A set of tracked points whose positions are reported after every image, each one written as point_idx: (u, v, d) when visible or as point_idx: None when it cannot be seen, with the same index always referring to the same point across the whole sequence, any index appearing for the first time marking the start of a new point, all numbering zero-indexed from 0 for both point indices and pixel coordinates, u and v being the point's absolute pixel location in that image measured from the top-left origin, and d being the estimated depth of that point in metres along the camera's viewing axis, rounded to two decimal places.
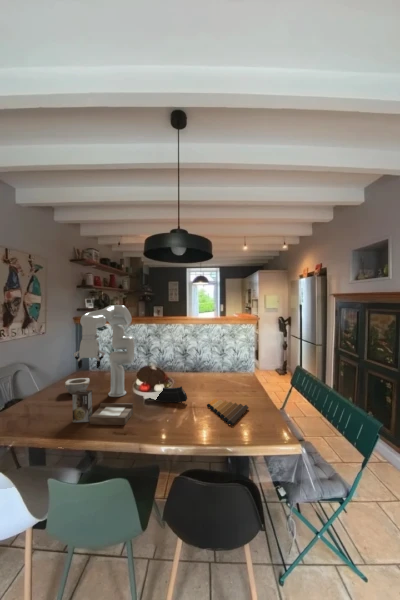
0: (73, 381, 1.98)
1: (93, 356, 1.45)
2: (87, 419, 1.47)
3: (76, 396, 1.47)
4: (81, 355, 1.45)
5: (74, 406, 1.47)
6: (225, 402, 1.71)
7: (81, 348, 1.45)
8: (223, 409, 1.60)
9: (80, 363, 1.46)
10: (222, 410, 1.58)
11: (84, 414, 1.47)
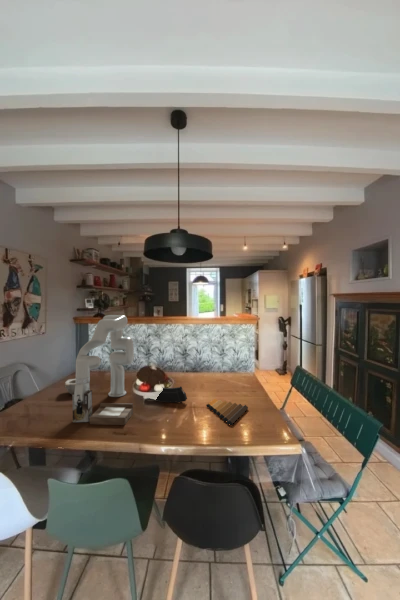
0: (73, 381, 1.98)
1: None
2: (87, 419, 1.47)
3: None
4: (83, 399, 1.47)
5: (74, 406, 1.47)
6: (225, 402, 1.71)
7: (83, 392, 1.47)
8: (223, 409, 1.60)
9: (81, 408, 1.47)
10: (222, 410, 1.58)
11: (84, 414, 1.47)
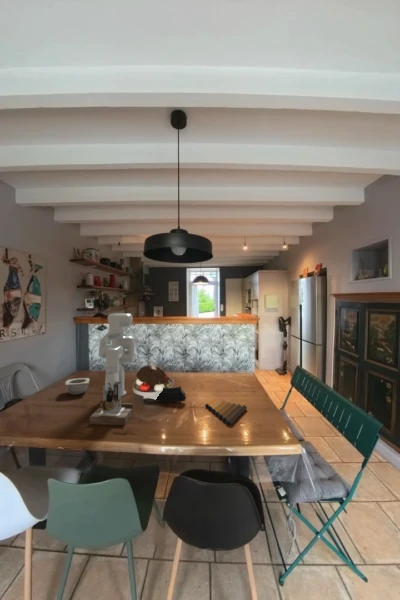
0: (73, 381, 1.98)
1: None
2: (117, 410, 1.49)
3: None
4: (113, 387, 1.49)
5: (105, 397, 1.49)
6: (223, 402, 1.70)
7: (113, 380, 1.49)
8: (221, 409, 1.59)
9: (111, 396, 1.48)
10: (220, 410, 1.58)
11: (114, 404, 1.49)
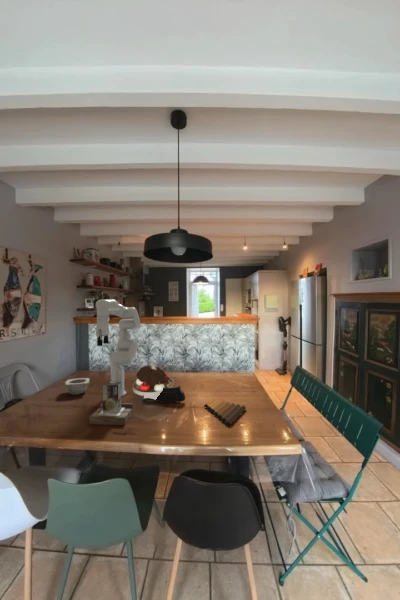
0: (73, 381, 1.98)
1: (107, 333, 1.73)
2: (117, 410, 1.49)
3: (106, 387, 1.49)
4: (103, 334, 1.67)
5: (104, 397, 1.49)
6: (222, 402, 1.70)
7: (104, 327, 1.67)
8: (220, 410, 1.59)
9: (101, 341, 1.66)
10: (219, 411, 1.58)
11: (114, 405, 1.49)
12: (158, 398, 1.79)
